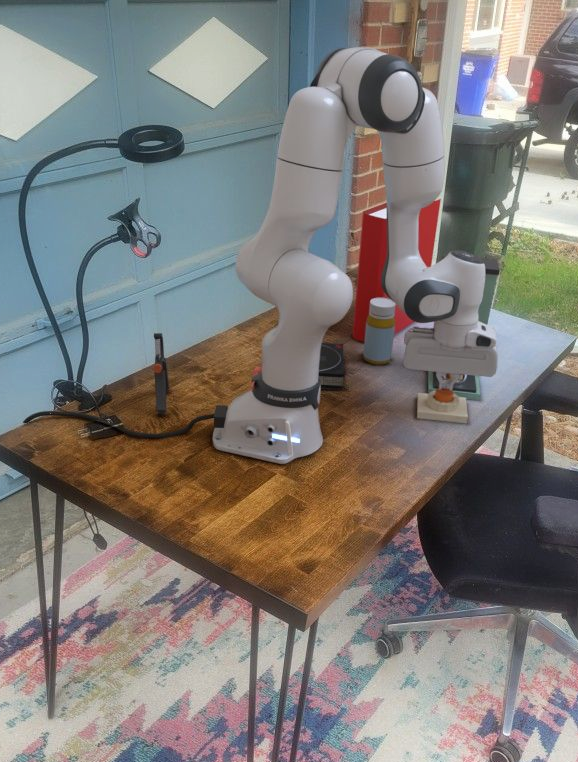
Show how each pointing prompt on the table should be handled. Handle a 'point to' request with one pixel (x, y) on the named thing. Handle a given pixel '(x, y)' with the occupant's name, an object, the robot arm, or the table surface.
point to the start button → (444, 395)
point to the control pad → (441, 408)
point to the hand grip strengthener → (160, 375)
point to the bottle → (379, 331)
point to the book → (375, 257)
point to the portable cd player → (331, 366)
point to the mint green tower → (471, 386)
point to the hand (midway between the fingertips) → (445, 389)
